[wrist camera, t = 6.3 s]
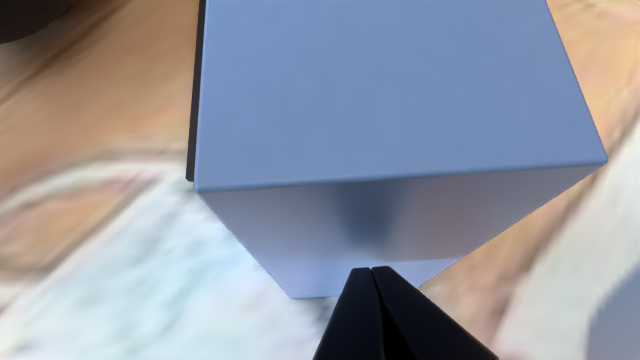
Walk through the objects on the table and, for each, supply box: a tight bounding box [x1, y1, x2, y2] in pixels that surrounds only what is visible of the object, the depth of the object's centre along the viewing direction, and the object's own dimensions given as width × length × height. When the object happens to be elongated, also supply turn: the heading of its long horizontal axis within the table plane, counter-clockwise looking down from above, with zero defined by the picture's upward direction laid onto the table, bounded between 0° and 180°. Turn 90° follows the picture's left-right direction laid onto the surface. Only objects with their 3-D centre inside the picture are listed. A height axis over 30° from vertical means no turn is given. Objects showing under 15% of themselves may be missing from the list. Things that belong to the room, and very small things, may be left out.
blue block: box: [193, 0, 608, 299], centre depth 11 cm, size 4×5×12 cm
